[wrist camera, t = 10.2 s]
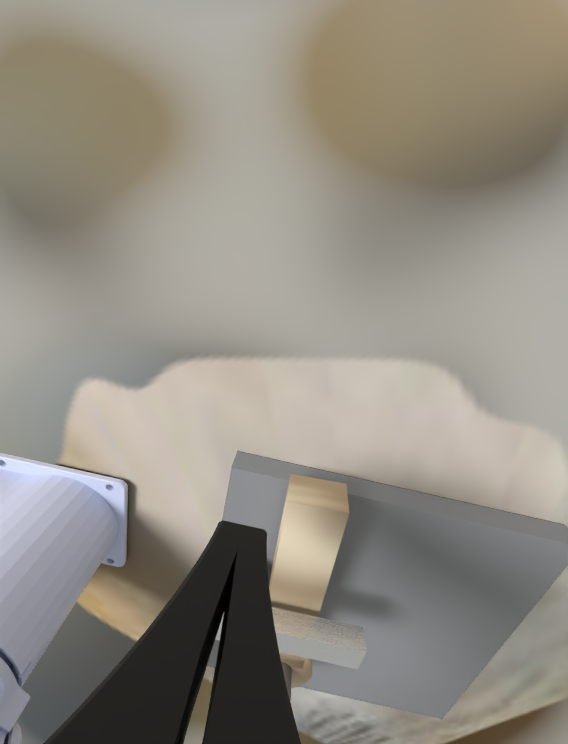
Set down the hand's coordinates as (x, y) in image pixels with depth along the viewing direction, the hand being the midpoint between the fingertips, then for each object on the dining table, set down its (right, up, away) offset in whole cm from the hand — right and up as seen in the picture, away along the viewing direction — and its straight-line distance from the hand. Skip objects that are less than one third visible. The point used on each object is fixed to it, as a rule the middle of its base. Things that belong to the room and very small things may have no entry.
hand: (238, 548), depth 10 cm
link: (+2, -8, +11) cm, 14 cm away
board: (+6, -11, +14) cm, 19 cm away
